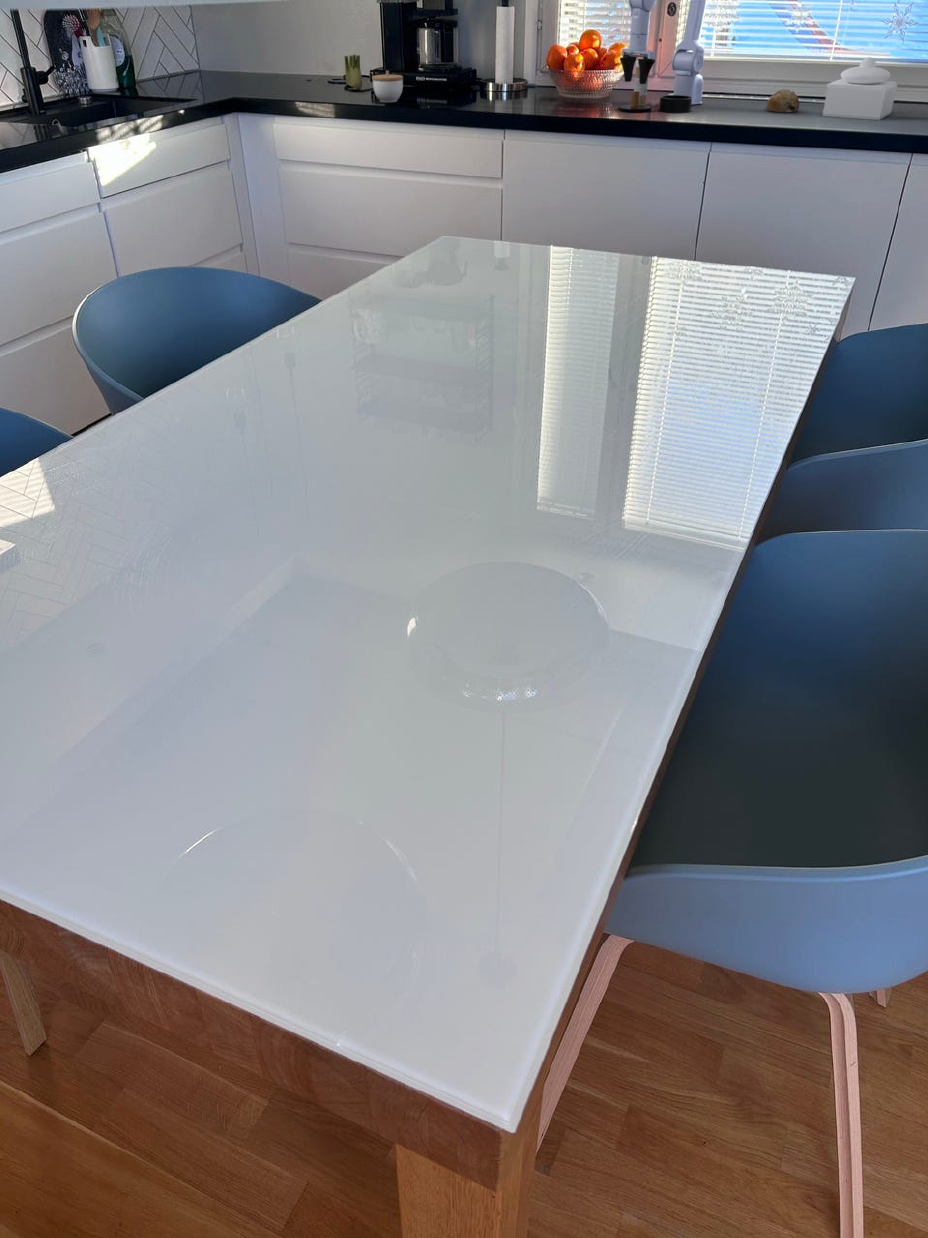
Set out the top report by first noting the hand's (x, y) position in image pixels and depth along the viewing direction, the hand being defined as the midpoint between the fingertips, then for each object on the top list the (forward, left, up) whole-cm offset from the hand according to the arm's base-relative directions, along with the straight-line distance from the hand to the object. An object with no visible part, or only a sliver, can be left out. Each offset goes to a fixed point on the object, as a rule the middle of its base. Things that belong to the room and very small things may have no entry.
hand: (635, 82), depth 310 cm
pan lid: (0, +1, -7) cm, 7 cm away
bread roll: (-41, +27, -8) cm, 49 cm away
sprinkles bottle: (-9, -7, -8) cm, 14 cm away
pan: (-11, +8, -8) cm, 16 cm away
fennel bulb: (+55, -99, -8) cm, 114 cm away
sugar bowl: (+58, -64, -8) cm, 87 cm away
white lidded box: (-55, +46, -8) cm, 72 cm away
